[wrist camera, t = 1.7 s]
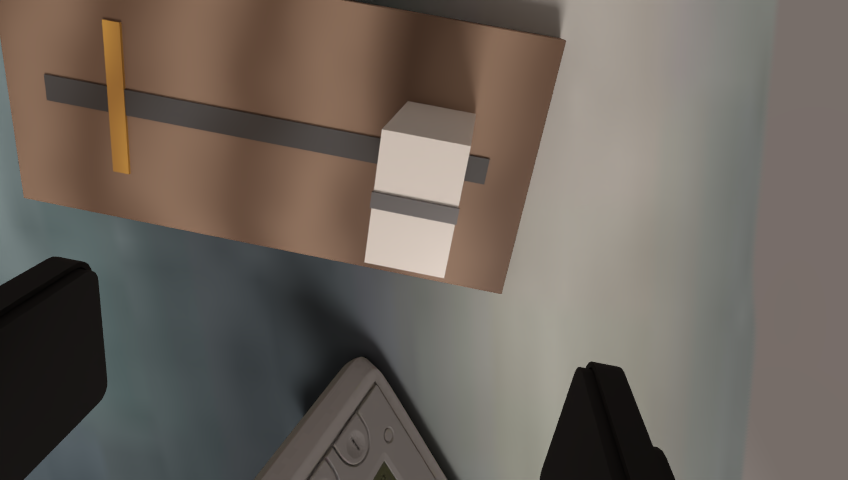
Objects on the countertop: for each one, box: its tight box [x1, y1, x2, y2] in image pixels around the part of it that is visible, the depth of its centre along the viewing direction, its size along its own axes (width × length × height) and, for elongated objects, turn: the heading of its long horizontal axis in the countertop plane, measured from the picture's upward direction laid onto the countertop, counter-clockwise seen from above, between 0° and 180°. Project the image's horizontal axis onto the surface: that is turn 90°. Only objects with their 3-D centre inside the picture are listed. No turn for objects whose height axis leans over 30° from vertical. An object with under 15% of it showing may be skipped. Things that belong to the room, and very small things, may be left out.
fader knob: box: [364, 101, 476, 278], centre depth 22 cm, size 3×5×6 cm, turn 171°
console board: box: [0, 0, 566, 294], centre depth 26 cm, size 25×12×2 cm, turn 81°
